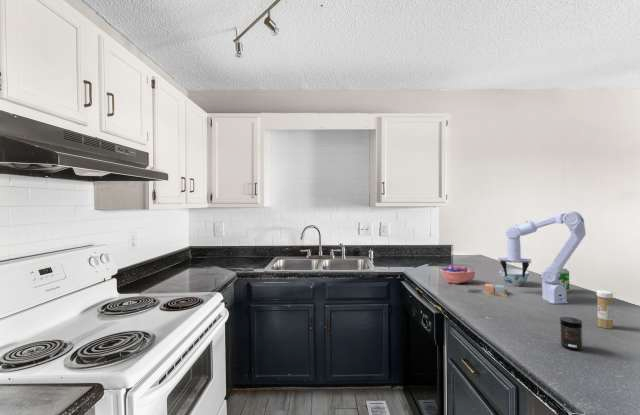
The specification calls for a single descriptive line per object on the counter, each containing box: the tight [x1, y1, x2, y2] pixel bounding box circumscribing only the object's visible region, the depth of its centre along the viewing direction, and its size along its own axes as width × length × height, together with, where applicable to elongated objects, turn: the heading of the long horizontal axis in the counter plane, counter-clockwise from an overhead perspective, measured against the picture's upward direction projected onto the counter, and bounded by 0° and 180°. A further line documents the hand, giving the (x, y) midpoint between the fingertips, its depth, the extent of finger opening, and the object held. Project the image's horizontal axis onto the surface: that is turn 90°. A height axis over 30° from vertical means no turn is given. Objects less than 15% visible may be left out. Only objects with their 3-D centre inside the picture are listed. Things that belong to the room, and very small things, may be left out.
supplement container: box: [559, 316, 584, 352], centre depth 104 cm, size 6×6×9 cm
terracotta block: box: [484, 283, 495, 292], centre depth 166 cm, size 4×5×4 cm
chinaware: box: [498, 268, 530, 287], centre depth 184 cm, size 15×15×8 cm
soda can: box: [558, 267, 571, 294], centre depth 167 cm, size 8×8×12 cm
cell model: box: [439, 264, 476, 285], centre depth 190 cm, size 17×20×11 cm
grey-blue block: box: [494, 284, 505, 293], centre depth 164 cm, size 4×5×4 cm
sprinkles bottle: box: [596, 289, 614, 330], centre depth 120 cm, size 5×5×13 cm
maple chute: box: [467, 287, 509, 298], centre depth 167 cm, size 20×14×2 cm
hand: (514, 276), depth 163 cm, fingers open, 7 cm apart
